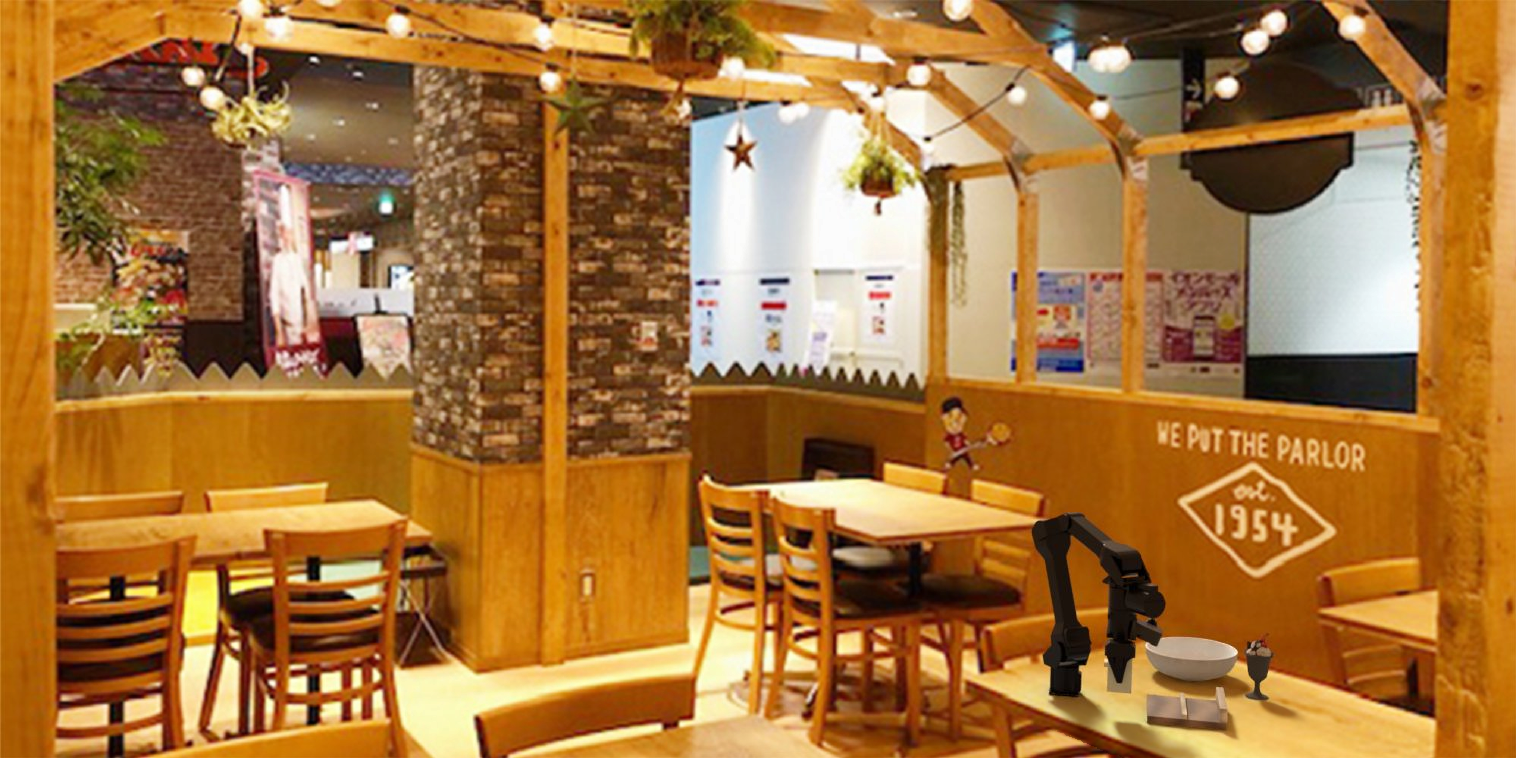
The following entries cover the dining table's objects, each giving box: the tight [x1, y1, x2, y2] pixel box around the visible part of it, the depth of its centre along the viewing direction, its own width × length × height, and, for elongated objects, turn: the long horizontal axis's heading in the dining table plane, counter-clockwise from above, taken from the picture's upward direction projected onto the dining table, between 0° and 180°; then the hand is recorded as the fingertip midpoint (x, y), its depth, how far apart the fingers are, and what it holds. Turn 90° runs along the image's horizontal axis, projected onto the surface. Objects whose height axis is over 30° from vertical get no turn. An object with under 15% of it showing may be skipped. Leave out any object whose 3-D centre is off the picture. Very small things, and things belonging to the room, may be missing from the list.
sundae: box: [1242, 632, 1275, 701], centre depth 308 cm, size 7×7×15 cm
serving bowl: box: [1144, 636, 1239, 682], centre depth 325 cm, size 21×21×7 cm
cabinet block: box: [1103, 658, 1133, 695], centre depth 293 cm, size 6×5×8 cm
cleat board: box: [1146, 686, 1229, 731], centre depth 295 cm, size 16×16×4 cm
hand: (1119, 679), depth 293 cm, fingers closed on cabinet block, 5 cm apart
